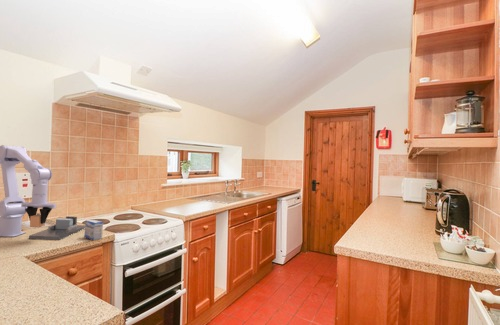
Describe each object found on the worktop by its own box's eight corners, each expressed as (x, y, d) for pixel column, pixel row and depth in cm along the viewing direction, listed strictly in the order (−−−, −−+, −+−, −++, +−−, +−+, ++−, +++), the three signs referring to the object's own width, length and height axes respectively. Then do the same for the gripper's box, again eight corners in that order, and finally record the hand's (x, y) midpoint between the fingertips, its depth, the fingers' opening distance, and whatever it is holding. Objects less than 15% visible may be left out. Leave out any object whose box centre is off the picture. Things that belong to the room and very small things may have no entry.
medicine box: (83, 237, 138) (85, 220, 138) (92, 235, 142) (93, 219, 142) (93, 240, 135) (94, 222, 135) (102, 238, 139) (103, 221, 139)
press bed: (28, 238, 131) (29, 231, 131) (60, 227, 156) (61, 220, 156) (59, 240, 132) (59, 232, 132) (86, 228, 157) (86, 222, 157)
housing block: (29, 227, 127) (30, 214, 127) (36, 225, 131) (36, 212, 131) (38, 227, 127) (39, 214, 127) (44, 225, 131) (45, 212, 131)
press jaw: (55, 228, 145) (56, 219, 145) (65, 225, 154) (65, 216, 154) (69, 229, 146) (69, 220, 146) (78, 225, 154) (78, 216, 154)
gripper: (16, 194, 125) (14, 224, 124) (50, 195, 125) (48, 225, 125) (28, 192, 132) (26, 220, 132) (59, 194, 132) (58, 222, 132)
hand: (37, 223), depth 129 cm, fingers closed on housing block, 4 cm apart
